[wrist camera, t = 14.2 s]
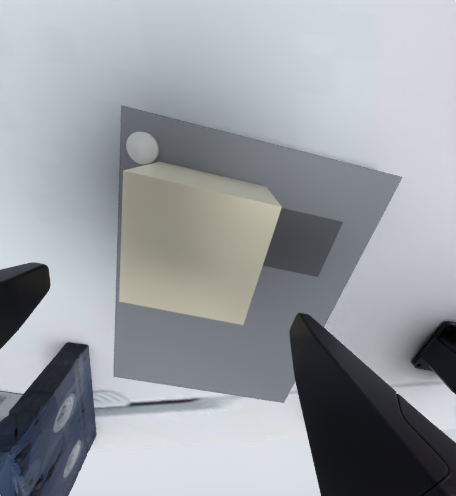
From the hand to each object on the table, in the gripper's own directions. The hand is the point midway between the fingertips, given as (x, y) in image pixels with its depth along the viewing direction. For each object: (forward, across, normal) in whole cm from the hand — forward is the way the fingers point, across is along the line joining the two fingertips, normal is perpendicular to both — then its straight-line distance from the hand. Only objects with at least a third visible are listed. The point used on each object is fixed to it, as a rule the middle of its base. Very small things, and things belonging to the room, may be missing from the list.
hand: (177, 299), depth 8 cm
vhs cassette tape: (+12, +11, +27) cm, 32 cm away
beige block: (+9, 0, 0) cm, 9 cm away
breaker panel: (+12, -3, +6) cm, 14 cm away
